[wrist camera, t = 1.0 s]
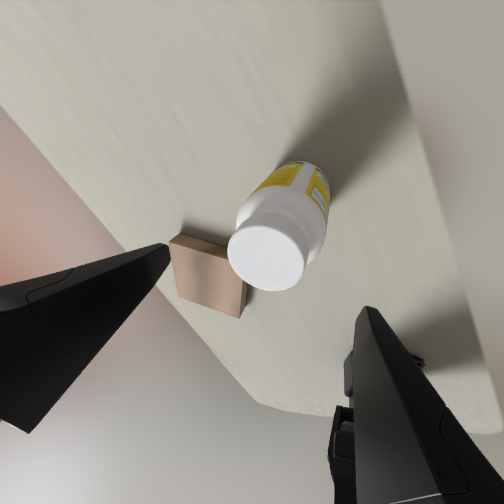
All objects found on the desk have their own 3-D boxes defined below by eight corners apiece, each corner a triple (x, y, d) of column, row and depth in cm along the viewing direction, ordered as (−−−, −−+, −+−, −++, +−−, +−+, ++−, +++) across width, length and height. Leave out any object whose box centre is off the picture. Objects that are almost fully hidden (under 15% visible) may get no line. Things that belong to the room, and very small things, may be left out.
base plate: (250, 253, 23) (244, 264, 22) (245, 306, 28) (239, 318, 27) (179, 233, 25) (168, 241, 24) (186, 286, 30) (178, 296, 29)
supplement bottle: (257, 206, 20) (204, 271, 12) (281, 147, 16) (228, 186, 9) (310, 233, 19) (289, 315, 12) (345, 178, 16) (348, 245, 8)
